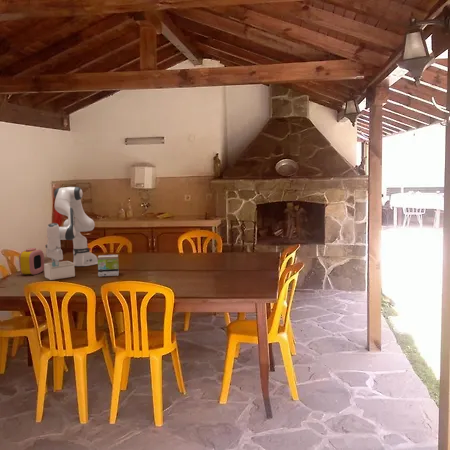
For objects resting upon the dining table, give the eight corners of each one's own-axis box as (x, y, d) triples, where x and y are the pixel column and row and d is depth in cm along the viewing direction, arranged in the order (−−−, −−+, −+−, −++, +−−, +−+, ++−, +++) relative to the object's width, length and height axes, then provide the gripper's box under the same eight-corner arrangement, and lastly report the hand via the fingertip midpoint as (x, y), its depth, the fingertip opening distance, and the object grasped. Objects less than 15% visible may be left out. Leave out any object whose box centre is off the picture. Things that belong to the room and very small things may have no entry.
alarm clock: (32, 276, 373) (30, 250, 371) (19, 276, 375) (17, 250, 373) (45, 271, 391) (44, 247, 389) (33, 271, 393) (31, 246, 391)
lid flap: (73, 275, 369) (72, 259, 367) (74, 275, 367) (73, 259, 365) (51, 278, 358) (50, 262, 356) (52, 279, 356) (51, 262, 354)
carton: (68, 273, 380) (67, 260, 379) (75, 276, 369) (74, 263, 368) (44, 277, 369) (43, 263, 368) (50, 280, 358) (49, 266, 357)
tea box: (98, 277, 364) (97, 257, 363) (98, 274, 374) (97, 255, 373) (119, 275, 367) (118, 256, 366) (119, 273, 377) (118, 253, 375)
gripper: (64, 246, 351) (65, 266, 352) (52, 244, 366) (53, 262, 367) (56, 248, 346) (57, 267, 348) (44, 245, 361) (45, 263, 363)
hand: (55, 264), depth 358 cm, fingers open, 2 cm apart
